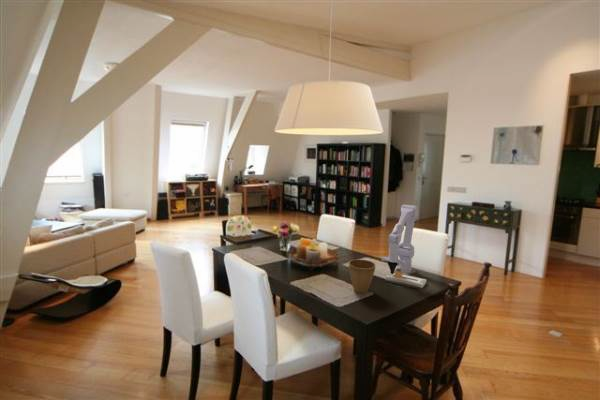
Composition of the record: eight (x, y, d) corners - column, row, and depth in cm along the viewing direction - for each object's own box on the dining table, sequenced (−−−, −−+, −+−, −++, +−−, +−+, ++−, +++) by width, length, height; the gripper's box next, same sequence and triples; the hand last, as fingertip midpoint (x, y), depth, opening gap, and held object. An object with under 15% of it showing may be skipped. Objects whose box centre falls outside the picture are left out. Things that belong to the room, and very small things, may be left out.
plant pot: (350, 296, 180) (351, 268, 177) (345, 285, 194) (346, 259, 192) (377, 296, 180) (378, 268, 178) (370, 285, 195) (372, 259, 192)
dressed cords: (392, 273, 214) (392, 271, 214) (427, 280, 203) (427, 278, 203) (384, 281, 201) (384, 279, 201) (420, 289, 189) (420, 287, 189)
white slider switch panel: (390, 274, 212) (390, 271, 211) (426, 282, 200) (426, 279, 199) (385, 279, 204) (385, 276, 204) (422, 287, 192) (422, 284, 192)
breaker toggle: (396, 274, 206) (396, 267, 206) (402, 275, 204) (402, 269, 203) (394, 275, 204) (395, 269, 203) (401, 277, 202) (401, 270, 201)
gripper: (380, 252, 205) (378, 272, 207) (403, 256, 197) (402, 278, 199) (384, 249, 210) (382, 269, 213) (406, 253, 202) (405, 274, 205)
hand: (392, 273), depth 206 cm, fingers closed
